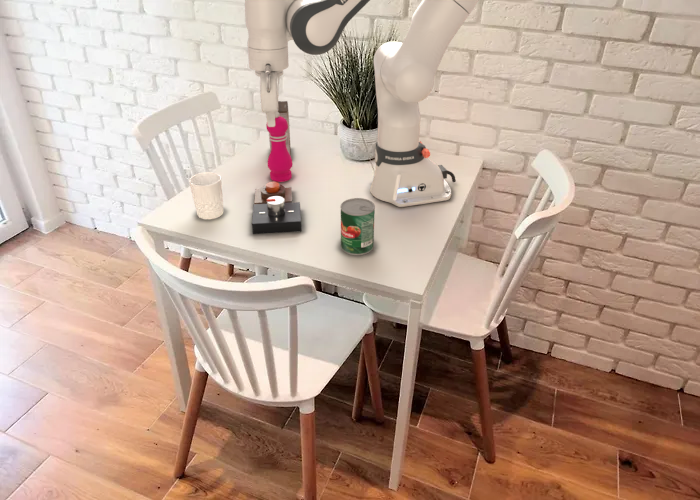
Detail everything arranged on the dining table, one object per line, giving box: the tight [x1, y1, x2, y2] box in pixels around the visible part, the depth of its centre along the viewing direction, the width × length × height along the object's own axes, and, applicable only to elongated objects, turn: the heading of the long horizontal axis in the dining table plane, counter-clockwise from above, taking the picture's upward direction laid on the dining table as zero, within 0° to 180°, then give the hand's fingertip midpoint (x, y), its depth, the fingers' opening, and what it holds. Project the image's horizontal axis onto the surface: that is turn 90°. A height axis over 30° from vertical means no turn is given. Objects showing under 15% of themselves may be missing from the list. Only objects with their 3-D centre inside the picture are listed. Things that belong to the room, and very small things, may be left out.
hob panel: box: [251, 201, 303, 235], centre depth 142 cm, size 12×10×3 cm
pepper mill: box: [266, 112, 293, 183], centre depth 159 cm, size 7×7×20 cm
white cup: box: [188, 171, 224, 220], centre depth 144 cm, size 8×8×10 cm
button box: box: [253, 183, 293, 204], centre depth 152 cm, size 10×8×4 cm
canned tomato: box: [340, 197, 376, 256], centre depth 131 cm, size 8×8×11 cm
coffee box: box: [268, 100, 292, 157], centre depth 173 cm, size 9×6×16 cm
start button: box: [265, 181, 280, 193], centre depth 151 cm, size 4×4×2 cm
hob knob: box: [267, 196, 285, 217], centre depth 140 cm, size 4×4×4 cm
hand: (271, 118), depth 132 cm, fingers open, 8 cm apart
